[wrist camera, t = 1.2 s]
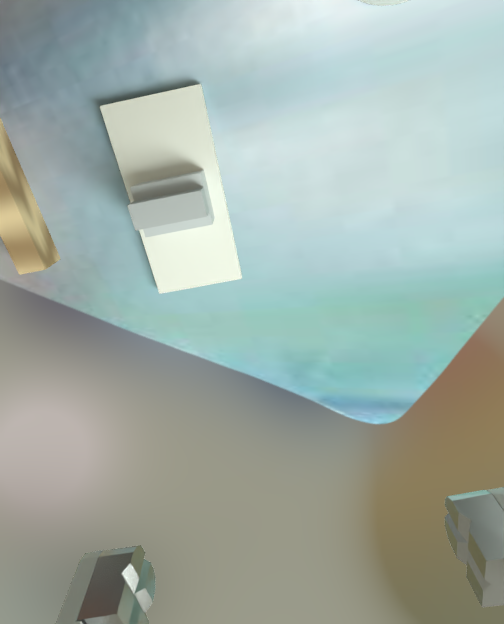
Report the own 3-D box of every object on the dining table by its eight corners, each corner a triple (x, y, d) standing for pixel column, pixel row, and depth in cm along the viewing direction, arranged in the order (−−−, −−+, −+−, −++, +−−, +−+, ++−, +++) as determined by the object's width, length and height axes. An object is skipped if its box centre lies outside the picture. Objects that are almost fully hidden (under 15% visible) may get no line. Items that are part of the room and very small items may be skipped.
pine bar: (-42, 90, 37) (-73, 85, 33) (-13, 83, 37) (-41, 78, 33) (37, 263, 44) (19, 274, 41) (61, 258, 44) (45, 269, 41)
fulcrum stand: (103, 106, 37) (75, 101, 31) (201, 85, 37) (192, 75, 30) (161, 289, 46) (148, 315, 40) (241, 275, 45) (241, 298, 39)
